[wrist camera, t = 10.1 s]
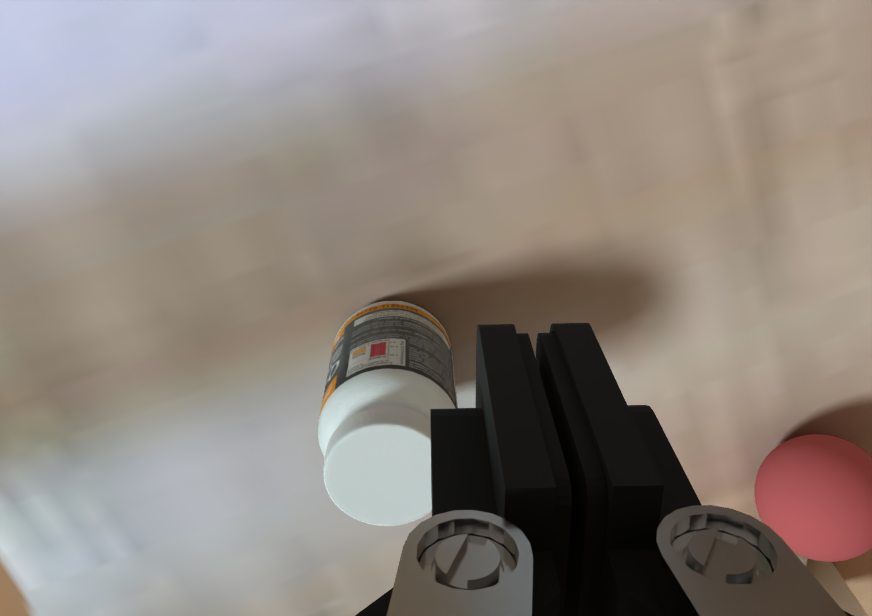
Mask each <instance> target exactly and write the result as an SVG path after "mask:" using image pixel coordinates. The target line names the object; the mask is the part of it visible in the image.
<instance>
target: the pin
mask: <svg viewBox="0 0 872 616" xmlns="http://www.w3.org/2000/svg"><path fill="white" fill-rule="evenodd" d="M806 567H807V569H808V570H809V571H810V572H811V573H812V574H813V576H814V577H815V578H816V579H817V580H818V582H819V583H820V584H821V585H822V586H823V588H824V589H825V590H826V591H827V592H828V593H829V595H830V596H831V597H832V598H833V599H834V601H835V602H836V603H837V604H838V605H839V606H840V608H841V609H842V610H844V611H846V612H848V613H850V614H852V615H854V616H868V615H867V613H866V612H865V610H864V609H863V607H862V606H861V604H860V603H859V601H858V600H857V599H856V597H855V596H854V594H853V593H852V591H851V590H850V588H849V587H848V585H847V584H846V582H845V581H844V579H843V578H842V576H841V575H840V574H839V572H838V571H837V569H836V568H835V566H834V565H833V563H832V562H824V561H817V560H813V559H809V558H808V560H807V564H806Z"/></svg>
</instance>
